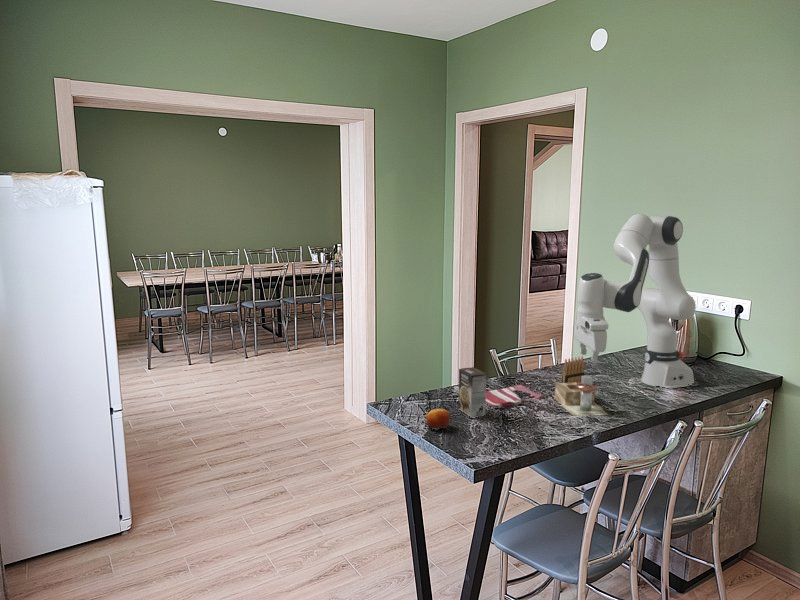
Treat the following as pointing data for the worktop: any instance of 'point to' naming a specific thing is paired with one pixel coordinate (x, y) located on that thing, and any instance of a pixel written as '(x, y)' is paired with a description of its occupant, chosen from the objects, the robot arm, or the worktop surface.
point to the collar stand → (574, 400)
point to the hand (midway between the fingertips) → (588, 357)
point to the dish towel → (508, 396)
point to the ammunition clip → (573, 370)
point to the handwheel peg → (586, 392)
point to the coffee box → (472, 391)
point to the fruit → (438, 418)
